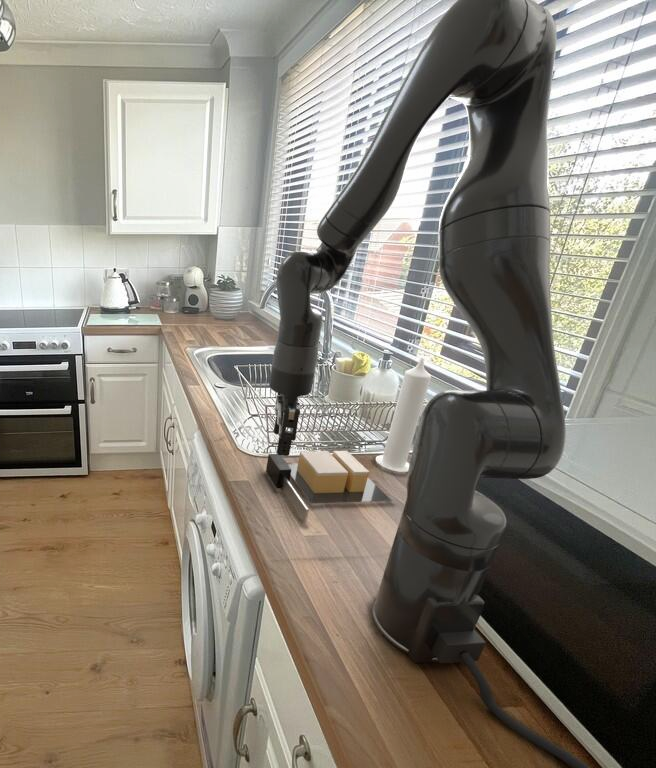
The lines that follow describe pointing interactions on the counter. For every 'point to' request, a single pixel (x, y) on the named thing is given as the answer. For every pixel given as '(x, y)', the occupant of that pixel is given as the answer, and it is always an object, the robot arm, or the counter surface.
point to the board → (368, 495)
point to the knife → (285, 482)
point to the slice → (352, 471)
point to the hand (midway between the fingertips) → (280, 443)
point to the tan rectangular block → (322, 472)
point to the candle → (405, 419)
